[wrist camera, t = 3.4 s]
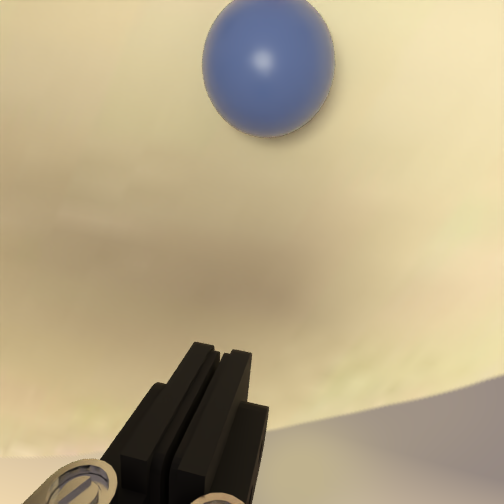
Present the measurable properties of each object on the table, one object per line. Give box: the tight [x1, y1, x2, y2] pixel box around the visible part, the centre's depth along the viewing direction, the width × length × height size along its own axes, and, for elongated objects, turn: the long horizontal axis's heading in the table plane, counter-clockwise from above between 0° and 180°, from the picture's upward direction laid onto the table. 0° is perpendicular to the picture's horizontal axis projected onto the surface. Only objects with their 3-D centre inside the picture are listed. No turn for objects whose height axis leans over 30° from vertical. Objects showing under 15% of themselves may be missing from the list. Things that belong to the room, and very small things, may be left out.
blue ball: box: [202, 0, 335, 138], centre depth 15 cm, size 6×6×6 cm
